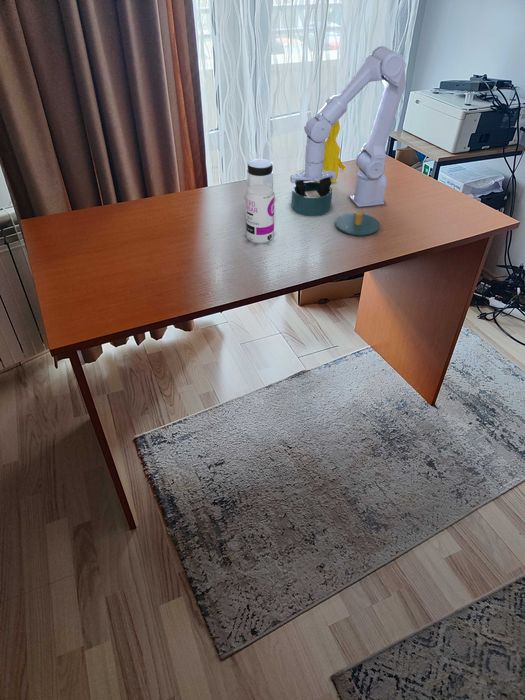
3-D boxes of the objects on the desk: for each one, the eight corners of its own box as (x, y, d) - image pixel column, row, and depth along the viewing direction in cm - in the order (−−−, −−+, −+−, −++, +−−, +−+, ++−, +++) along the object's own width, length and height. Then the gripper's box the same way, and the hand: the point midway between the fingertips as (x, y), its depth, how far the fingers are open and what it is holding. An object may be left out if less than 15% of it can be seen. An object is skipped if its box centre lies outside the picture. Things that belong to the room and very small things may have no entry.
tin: (323, 196, 162) (324, 179, 158) (335, 213, 153) (337, 196, 149) (287, 200, 160) (287, 183, 156) (297, 217, 151) (298, 200, 147)
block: (315, 202, 158) (316, 190, 156) (319, 208, 155) (320, 195, 153) (303, 203, 158) (303, 191, 155) (306, 209, 155) (307, 197, 152)
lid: (353, 212, 154) (355, 199, 151) (388, 226, 147) (390, 213, 144) (326, 226, 147) (327, 212, 144) (361, 242, 140) (363, 228, 137)
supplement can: (277, 233, 144) (278, 185, 133) (268, 246, 138) (269, 197, 128) (252, 229, 146) (251, 181, 135) (242, 242, 140) (241, 193, 130)
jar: (258, 206, 157) (258, 170, 149) (242, 198, 161) (241, 163, 153) (277, 198, 162) (278, 163, 153) (261, 191, 166) (261, 156, 158)
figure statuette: (340, 174, 177) (348, 110, 162) (351, 182, 171) (360, 117, 157) (298, 181, 172) (301, 117, 157) (307, 190, 166) (312, 124, 151)
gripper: (295, 167, 142) (293, 209, 151) (341, 162, 145) (336, 204, 154) (289, 158, 147) (287, 200, 157) (333, 154, 150) (329, 195, 159)
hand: (311, 201), depth 156 cm, fingers open, 6 cm apart
